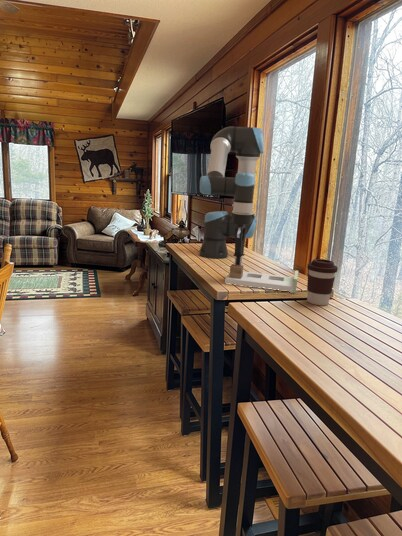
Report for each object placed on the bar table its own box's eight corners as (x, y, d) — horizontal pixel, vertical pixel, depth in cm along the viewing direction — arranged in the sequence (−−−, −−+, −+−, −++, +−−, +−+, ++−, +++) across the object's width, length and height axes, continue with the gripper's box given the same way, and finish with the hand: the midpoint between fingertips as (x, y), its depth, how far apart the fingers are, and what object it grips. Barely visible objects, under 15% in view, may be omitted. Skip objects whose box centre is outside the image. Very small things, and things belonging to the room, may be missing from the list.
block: (231, 274, 157) (232, 264, 156) (242, 276, 156) (243, 265, 154) (229, 277, 152) (230, 266, 151) (240, 278, 151) (241, 267, 150)
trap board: (231, 275, 165) (232, 263, 164) (296, 283, 159) (298, 270, 158) (224, 284, 151) (225, 270, 150) (295, 293, 145) (297, 279, 143)
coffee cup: (300, 303, 133) (305, 261, 130) (306, 296, 142) (311, 256, 138) (329, 309, 129) (335, 265, 125) (334, 301, 137) (340, 260, 134)
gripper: (235, 211, 158) (231, 267, 163) (229, 214, 146) (225, 274, 151) (254, 212, 156) (249, 269, 162) (249, 215, 144) (244, 276, 149)
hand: (237, 271), depth 156 cm, fingers closed
